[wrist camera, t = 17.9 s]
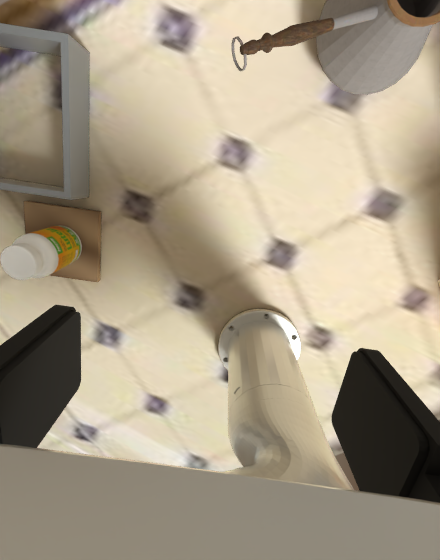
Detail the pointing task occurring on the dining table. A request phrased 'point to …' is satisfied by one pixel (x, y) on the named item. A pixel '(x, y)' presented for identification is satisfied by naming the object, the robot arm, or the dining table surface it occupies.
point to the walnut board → (81, 224)
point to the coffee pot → (360, 40)
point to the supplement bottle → (41, 253)
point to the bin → (72, 108)
